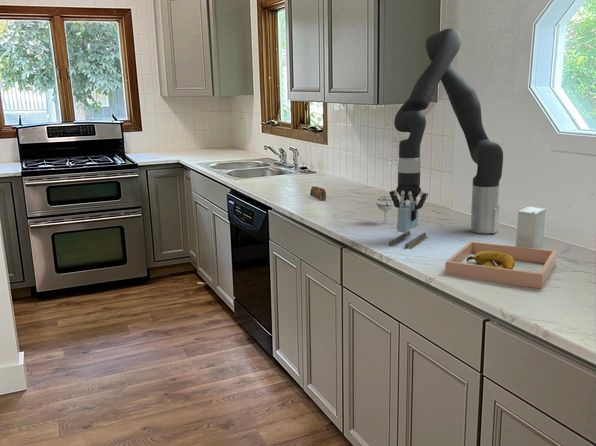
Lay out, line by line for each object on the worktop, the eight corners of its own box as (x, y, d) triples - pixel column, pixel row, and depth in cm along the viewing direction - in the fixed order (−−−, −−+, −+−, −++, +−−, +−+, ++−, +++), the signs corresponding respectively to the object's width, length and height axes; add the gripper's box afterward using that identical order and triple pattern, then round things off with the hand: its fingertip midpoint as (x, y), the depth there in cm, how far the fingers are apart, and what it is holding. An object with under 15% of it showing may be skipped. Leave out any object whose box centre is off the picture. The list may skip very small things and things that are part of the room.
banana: (483, 260, 179) (484, 243, 178) (530, 277, 162) (531, 257, 161) (444, 267, 173) (444, 249, 172) (488, 285, 156) (489, 265, 155)
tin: (309, 201, 284) (309, 185, 282) (315, 201, 285) (315, 184, 283) (321, 207, 270) (320, 189, 268) (327, 206, 271) (326, 189, 269)
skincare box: (524, 250, 189) (527, 205, 185) (543, 253, 185) (546, 208, 181) (514, 255, 183) (516, 210, 179) (533, 258, 179) (536, 212, 175)
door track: (428, 239, 205) (429, 233, 204) (411, 252, 190) (411, 244, 189) (405, 237, 209) (405, 230, 209) (385, 248, 194) (385, 241, 194)
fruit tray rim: (555, 263, 173) (556, 250, 172) (541, 288, 152) (542, 274, 151) (469, 253, 187) (470, 241, 186) (445, 275, 165) (445, 261, 164)
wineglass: (393, 229, 221) (393, 199, 218) (376, 229, 222) (376, 199, 220) (394, 226, 227) (394, 196, 225) (377, 225, 229) (377, 196, 226)
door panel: (418, 225, 203) (418, 203, 201) (405, 232, 193) (406, 209, 191) (410, 224, 204) (410, 202, 202) (397, 231, 194) (397, 208, 192)
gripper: (432, 170, 193) (431, 220, 197) (393, 168, 201) (393, 216, 204) (425, 173, 187) (423, 224, 191) (385, 171, 194) (385, 220, 198)
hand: (408, 220), depth 198 cm, fingers closed on door panel, 3 cm apart
